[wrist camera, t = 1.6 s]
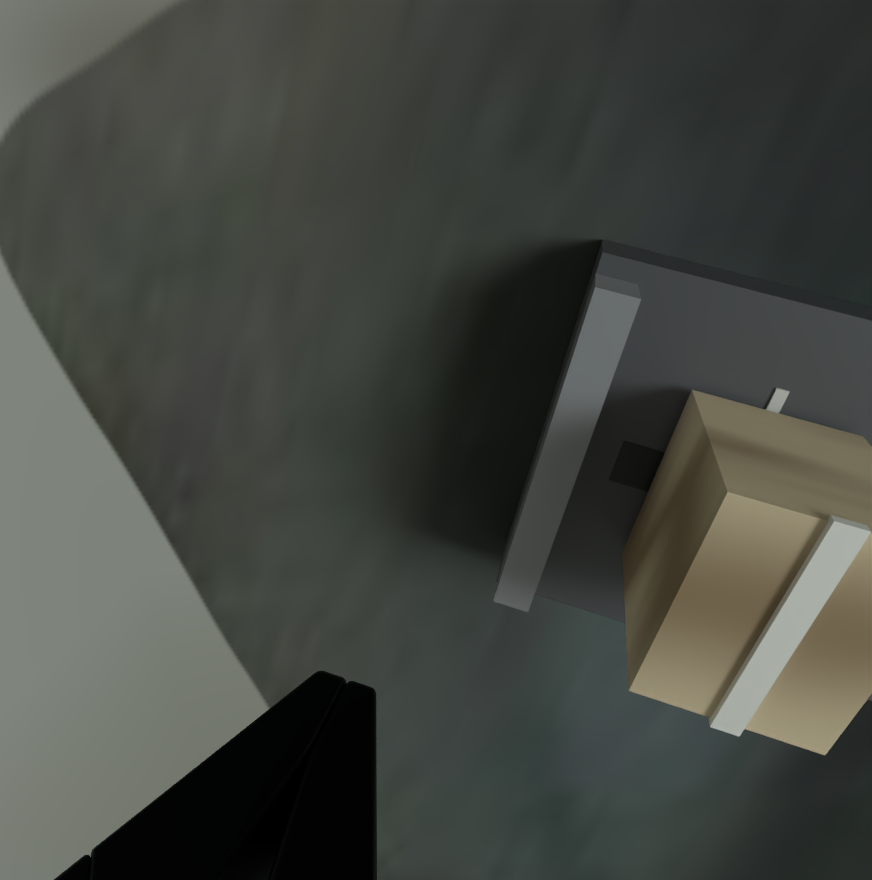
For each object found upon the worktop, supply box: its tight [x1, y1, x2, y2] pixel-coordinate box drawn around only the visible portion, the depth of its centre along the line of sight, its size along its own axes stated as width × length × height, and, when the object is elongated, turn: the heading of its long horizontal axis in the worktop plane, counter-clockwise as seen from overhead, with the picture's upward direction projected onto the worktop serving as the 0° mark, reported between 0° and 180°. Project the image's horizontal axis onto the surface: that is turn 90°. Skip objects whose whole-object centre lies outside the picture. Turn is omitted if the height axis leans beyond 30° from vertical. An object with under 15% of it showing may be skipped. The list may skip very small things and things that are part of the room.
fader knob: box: [622, 390, 872, 755], centre depth 14 cm, size 5×4×5 cm
